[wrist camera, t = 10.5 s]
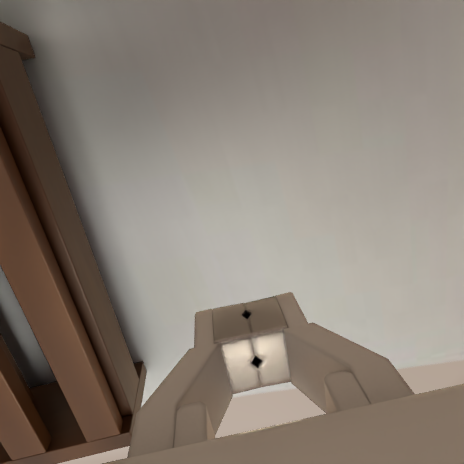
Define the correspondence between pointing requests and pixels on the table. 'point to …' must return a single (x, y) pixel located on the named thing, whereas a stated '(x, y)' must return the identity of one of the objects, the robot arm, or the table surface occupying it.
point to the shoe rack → (54, 296)
